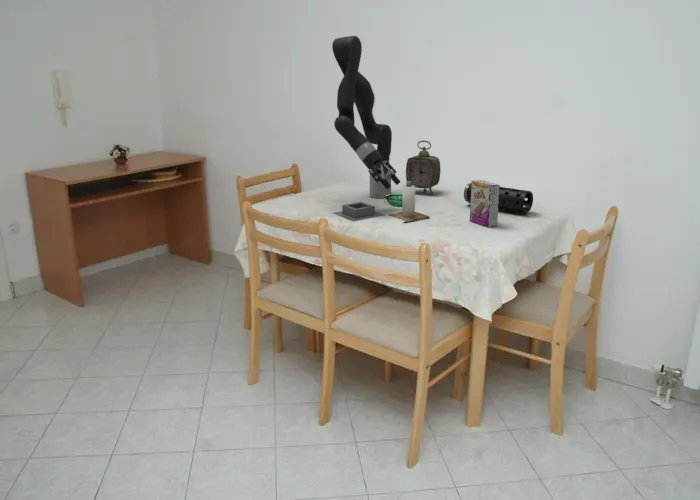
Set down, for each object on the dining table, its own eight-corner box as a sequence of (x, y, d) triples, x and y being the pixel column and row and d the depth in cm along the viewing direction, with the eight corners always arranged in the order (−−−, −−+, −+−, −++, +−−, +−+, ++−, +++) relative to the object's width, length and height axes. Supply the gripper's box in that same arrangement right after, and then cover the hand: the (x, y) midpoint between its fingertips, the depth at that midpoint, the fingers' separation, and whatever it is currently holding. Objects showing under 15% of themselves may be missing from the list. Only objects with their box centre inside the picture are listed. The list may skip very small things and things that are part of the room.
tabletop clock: (405, 193, 281) (406, 140, 273) (413, 189, 288) (414, 138, 280) (433, 196, 274) (435, 142, 266) (441, 193, 281) (443, 140, 273)
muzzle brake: (521, 217, 238) (523, 192, 235) (461, 207, 256) (463, 183, 253) (532, 213, 244) (534, 188, 241) (473, 202, 262) (474, 179, 259)
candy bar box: (468, 221, 234) (470, 180, 229) (478, 219, 236) (480, 179, 231) (487, 228, 224) (490, 185, 219) (497, 226, 227) (500, 184, 222)
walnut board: (410, 212, 248) (410, 210, 248) (429, 218, 238) (429, 216, 238) (387, 217, 242) (387, 214, 242) (405, 223, 232) (405, 221, 232)
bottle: (409, 213, 243) (409, 179, 239) (417, 215, 239) (417, 181, 235) (399, 215, 241) (400, 181, 236) (407, 217, 237) (407, 183, 232)
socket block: (363, 209, 254) (363, 199, 253) (385, 217, 241) (385, 206, 240) (331, 215, 246) (331, 204, 244) (353, 223, 233) (352, 212, 232)
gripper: (365, 152, 234) (391, 183, 232) (383, 146, 245) (407, 176, 243) (354, 164, 238) (379, 195, 236) (372, 158, 250) (396, 187, 248)
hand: (393, 185), depth 240 cm, fingers open, 8 cm apart
